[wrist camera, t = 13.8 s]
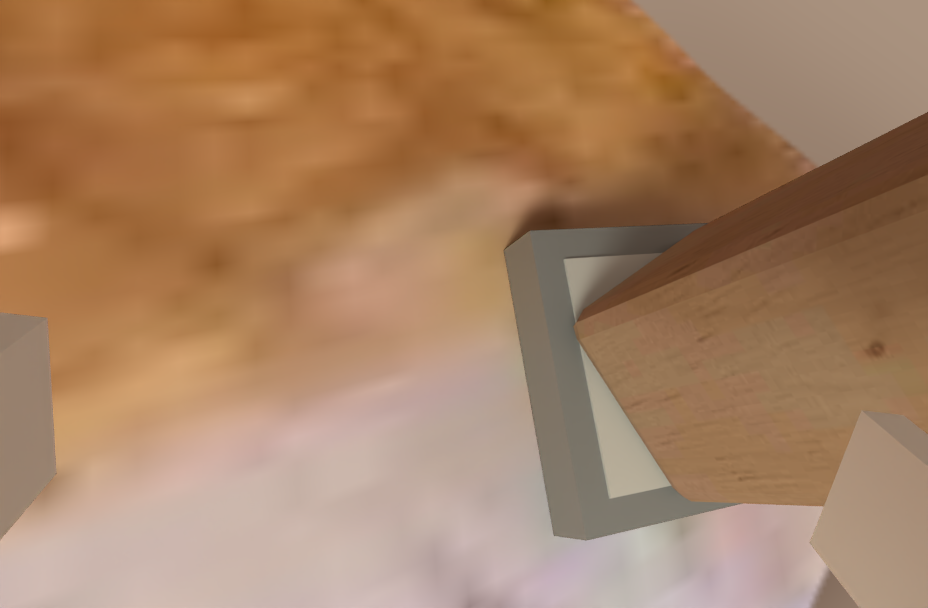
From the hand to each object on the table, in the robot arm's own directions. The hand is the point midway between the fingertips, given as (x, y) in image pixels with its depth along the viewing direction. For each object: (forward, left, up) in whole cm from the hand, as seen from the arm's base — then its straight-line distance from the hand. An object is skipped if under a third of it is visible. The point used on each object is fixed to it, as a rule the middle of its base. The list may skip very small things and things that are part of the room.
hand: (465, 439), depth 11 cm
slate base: (-2, +18, -20) cm, 27 cm away
